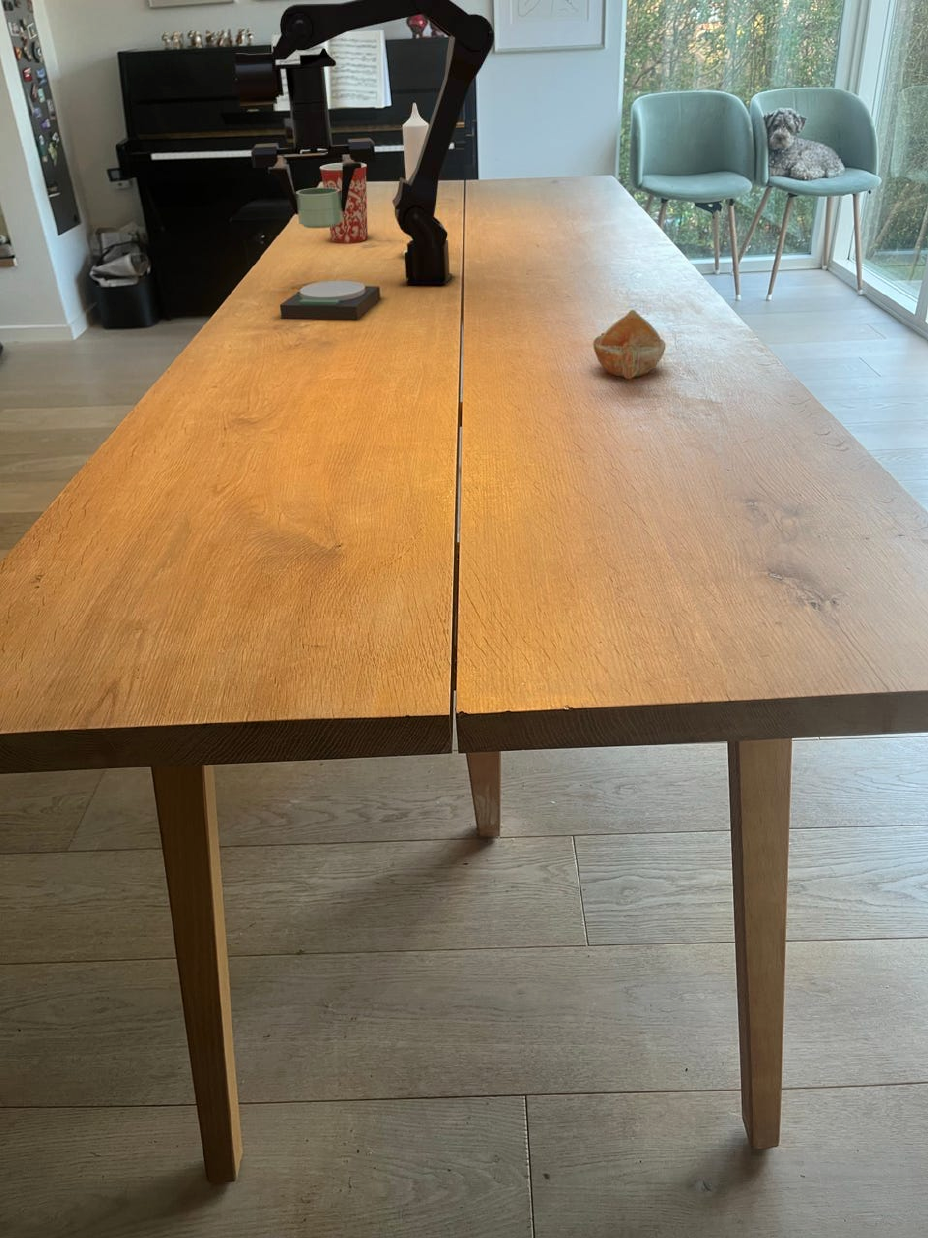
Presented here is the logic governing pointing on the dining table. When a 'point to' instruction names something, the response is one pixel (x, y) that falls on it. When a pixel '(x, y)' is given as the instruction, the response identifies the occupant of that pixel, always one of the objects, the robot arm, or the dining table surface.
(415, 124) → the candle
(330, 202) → the bowl
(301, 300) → the scale
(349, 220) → the mug
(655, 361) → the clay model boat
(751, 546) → the dining table surface
